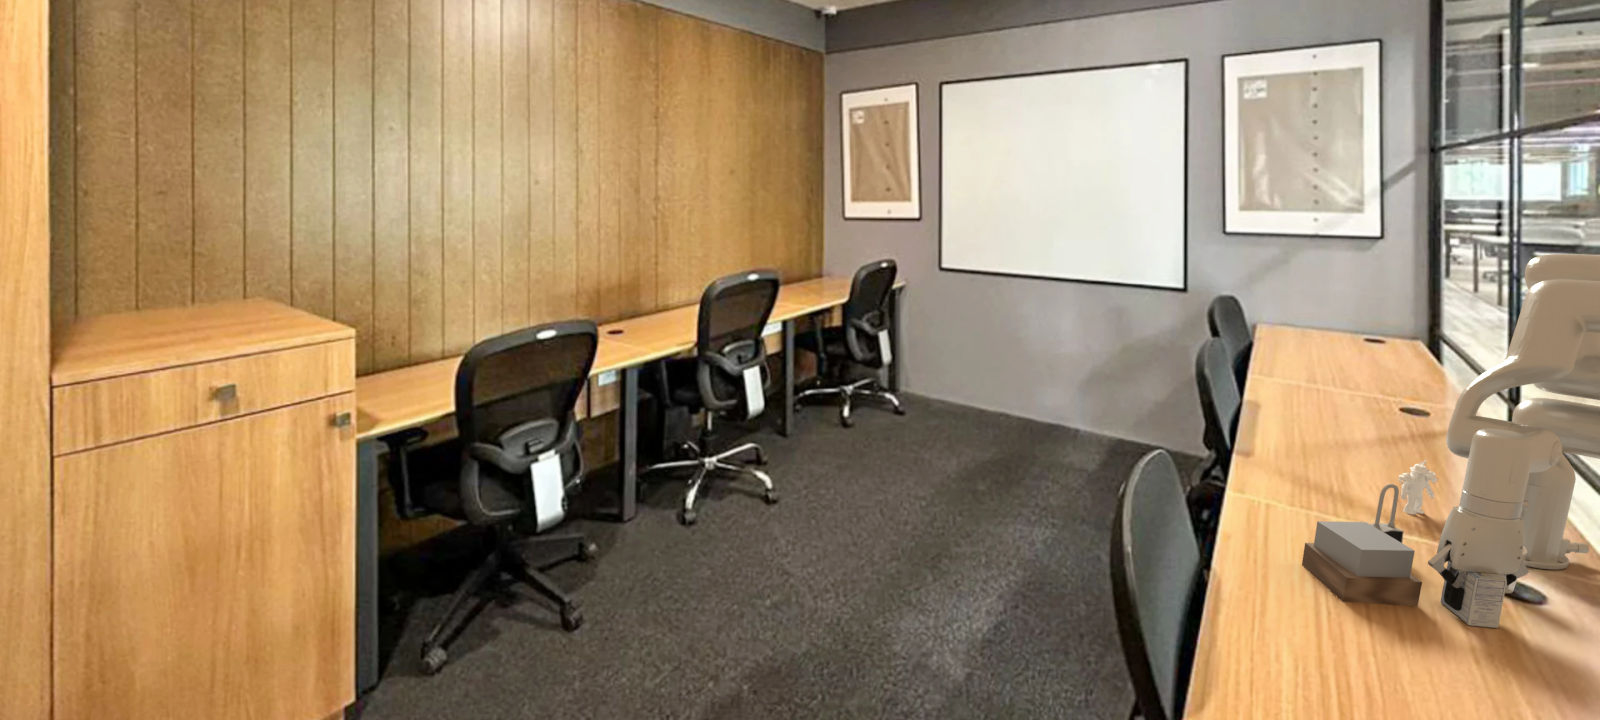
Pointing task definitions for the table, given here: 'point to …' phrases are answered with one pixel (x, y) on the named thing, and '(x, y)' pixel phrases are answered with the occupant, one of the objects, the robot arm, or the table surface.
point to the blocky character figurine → (1416, 487)
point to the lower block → (1360, 582)
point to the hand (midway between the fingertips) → (1469, 606)
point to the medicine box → (1480, 599)
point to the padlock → (1390, 527)
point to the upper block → (1363, 549)
